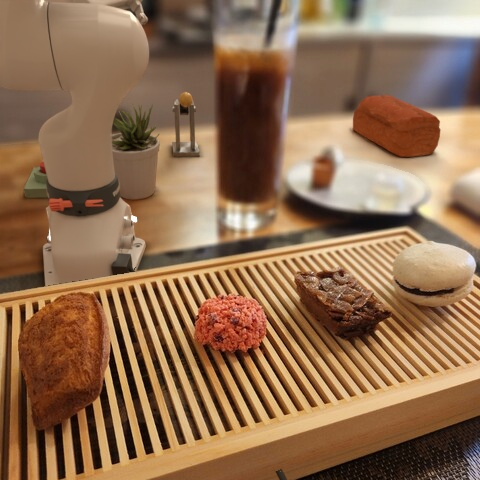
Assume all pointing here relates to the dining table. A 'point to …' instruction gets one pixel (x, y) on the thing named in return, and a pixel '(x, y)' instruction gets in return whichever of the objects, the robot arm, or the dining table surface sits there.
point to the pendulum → (190, 147)
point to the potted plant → (135, 156)
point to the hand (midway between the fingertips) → (133, 26)
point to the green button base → (36, 184)
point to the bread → (397, 126)
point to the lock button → (42, 167)
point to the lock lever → (185, 103)
